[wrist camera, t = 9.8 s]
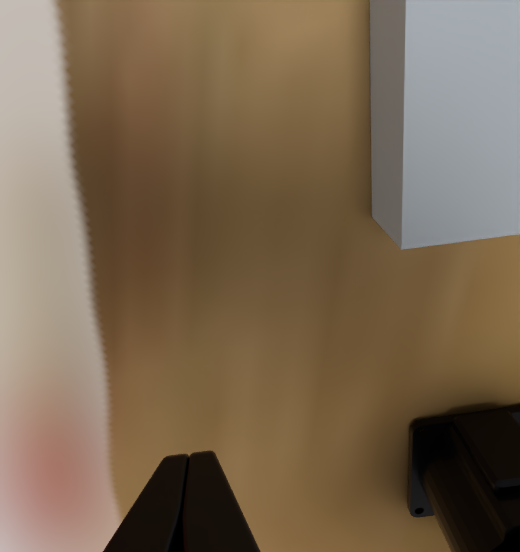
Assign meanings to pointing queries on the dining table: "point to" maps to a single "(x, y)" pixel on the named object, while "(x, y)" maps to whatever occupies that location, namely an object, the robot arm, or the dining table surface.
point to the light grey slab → (445, 119)
